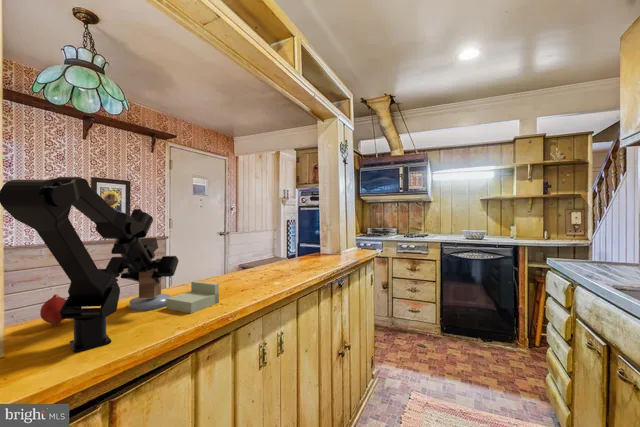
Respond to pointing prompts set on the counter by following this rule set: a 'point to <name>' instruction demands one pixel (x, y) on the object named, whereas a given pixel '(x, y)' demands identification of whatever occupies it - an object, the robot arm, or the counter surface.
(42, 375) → the counter surface
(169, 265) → the robot arm
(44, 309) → the onion
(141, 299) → the disc
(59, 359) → the counter surface
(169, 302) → the ledge
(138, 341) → the counter surface
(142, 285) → the walnut block
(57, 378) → the counter surface
